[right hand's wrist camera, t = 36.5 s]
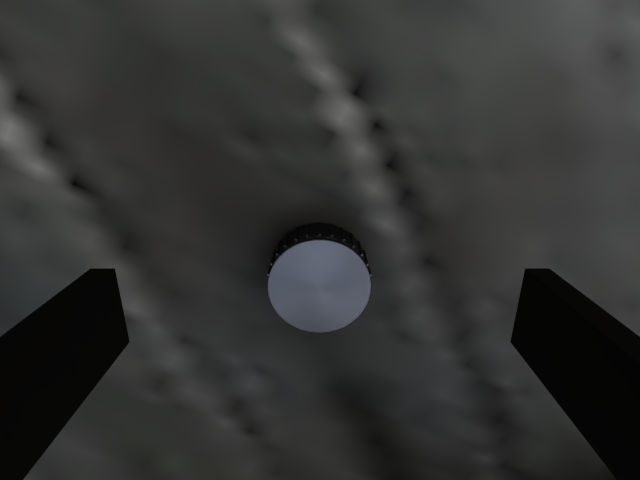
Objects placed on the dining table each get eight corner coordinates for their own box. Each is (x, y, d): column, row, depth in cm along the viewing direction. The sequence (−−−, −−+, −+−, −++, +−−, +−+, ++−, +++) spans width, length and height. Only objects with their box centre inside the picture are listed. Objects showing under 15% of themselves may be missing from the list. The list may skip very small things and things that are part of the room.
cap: (254, 246, 16) (245, 266, 14) (342, 204, 15) (345, 219, 13) (298, 322, 17) (296, 349, 15) (382, 286, 16) (390, 309, 14)
